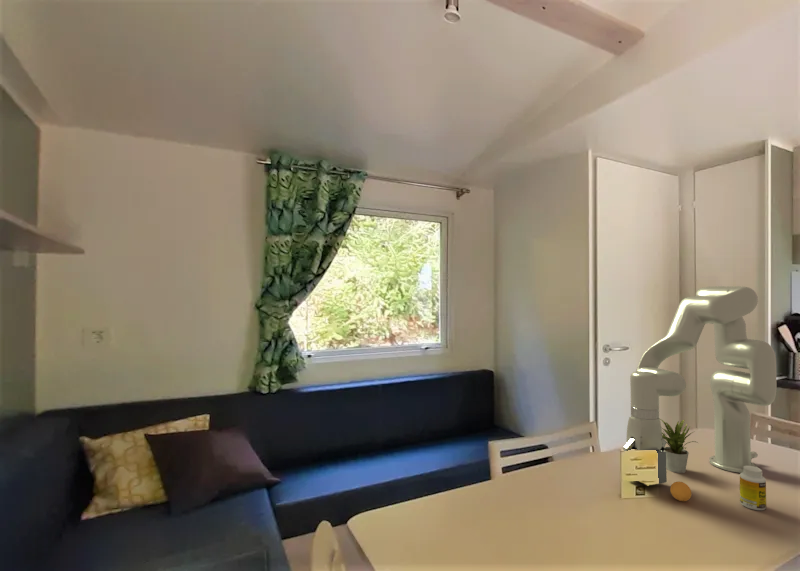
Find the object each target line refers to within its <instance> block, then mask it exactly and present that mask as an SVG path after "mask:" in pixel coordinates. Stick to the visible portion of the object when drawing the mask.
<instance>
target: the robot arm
mask: <svg viewBox="0 0 800 571" xmlns="http://www.w3.org/2000/svg"><path fill="white" fill-rule="evenodd" d="M758 302H759V299H758V294H757V293H756V291H755V290H754V289H753V288H751V287H748V286H740V285H737V286H734V285H733V286H722V285H721V286H719V285H718V286H705V287H702V288H701V287H700V288H699V289H698V290H697V291H696V292H695V296H687V297H685V298H683V299H682V300H681V301H680V302H679V304H678V306H677V309H676V311H675V314H674V315H673V318H672V320H671V323H670V325H669V327H668V330H667V332H666V334H665V336H664V337H662V338H661V339H659V340H658V341H656V342H655V343H654V344H652V345H651V346H650V347H649V348H648V349H647V350H645V351H644V353H643V354H642V355H641V358H640V360H639V362H638V365H637V367H636V370H635V371H633V372H631V373H630V382H629V383H630V416H628V421H627V427H626V439H625V440H626V443H625V445H624V446H623V448H622V449H623V451H624V452H625V451H628V450H631V449H636V448H637V450H661V451H663V452H664V447H666V446H667V441H666V440H665V439H663V438H662V435H663V434H662V433H663V429H662V428H661V427H662V425H661V423H662V421H661V420H660V419H661V418H660V397H662V396H663V397H677V396H680V395H682V394H683V393H684V391H685V390H686V388H687V382H686V379H685V378H684V376H682V375H681V373H678V372H676V371H673V370H668V369H667V370H666V369H664V368H659V366H661V364H662V363H663V362H664V361H665V360H667V359H669V358H670V357H673V356H675V355H678V354H681V353H684V352H688V351H691V350H693V349H695V348H696V346H697V345H698V342H699V339H700V337H701V334H702V332H703V329H704V328H705V325H706V324H707V325H708V324H709V325H713V332H714V356H715V359H716V361H717V362H718V363H720V364H721V365H723V366H727V367H733V368H739V369H746V370H748V371H749V372H745V371H741V370H740V371H739V370H734V369H718V370H716V371H714V372H713V373H712V374H711V375H710V379H709V386H710V390H711V394H712V400H713V412H714V413H713V414H714V416H713V422H714V423H713V424H714V455H711V456H710V457H709V463H710V464H711V465H712V466H714V467H716V468H718V469H721V470H725V471H728V472H732V473H739V474H740V473H742V472H743V467H744V466H754V467H757V468H758V466H757V464H755V463H754V462H752V459H756V458H758V456H759V455H758V453H757V451H751V450H752V449H751V447H752V446H751V414H750V411H749V408H748V406H747V405H746V404H750V405H754V406H755V405H756V406H761V407H766V406H770V405H772V404H773V403H774V401H775V400H776V397H777V386H778V385H777V358H776V352H775V351H774V348H773V346H771V344H769V343H768V342H766V341H763V340H758V339H749V338H748V336H747V326H746V321H745V319H744V317H746V316H747V315H750V314H751V313H752V312H753V311H755V309H756V307H757V306H758Z"/></svg>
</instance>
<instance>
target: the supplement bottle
mask: <svg viewBox="0 0 800 571" xmlns="http://www.w3.org/2000/svg"><path fill="white" fill-rule="evenodd" d="M739 501H740V502H739V503H740V504H741V505H742V506H743V507H745V508H747V509H750V510H754V511H764V510H766V508H767V479H766V478H765V476H763V469H761V468H759V467H758V466H757V467H754V466H744V467H743V472H742V473H739Z"/></svg>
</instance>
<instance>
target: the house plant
mask: <svg viewBox="0 0 800 571" xmlns="http://www.w3.org/2000/svg"><path fill="white" fill-rule="evenodd" d="M685 421H686V420H685V419H683V420H681V421H680V422H679V420H678V421H677V422H676V425H675V427H674V429H673V428H672V426H671V425H670V424H669V423H668V422H665V421H664V420H663V419H662V418H660V422H661V423H663V425H664V427H665V428H666V429H665V428H662V426H661V429H662V431H663V432H662V438H663V439H664V440H665V441H666V442H667V443H666V445H667V446H665V447H664V451H663V452H666V470H667V471H669V472H673V473H676V474H684V473H686V471H687V465H688V458H689V454H690V453H689V451H688V450H687V447H685V446H686V445H687V444H689V443H698V444H699V442H698V441H695V440H692V441H688V442H687V443H685V440H686V439H687V438H688V437H689V436H691V434H693V433H695V432H696V431H692V432H690V431H689V430H690V428H691V426H689V427H688V428H687V426H688V423H686V425H685V426H684V428H683V425H684V423H685ZM682 429H683V430H682ZM681 431H682V432H681ZM688 432H690V433H689V434H688ZM666 434H667V435H666Z"/></svg>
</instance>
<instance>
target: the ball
mask: <svg viewBox="0 0 800 571" xmlns="http://www.w3.org/2000/svg"><path fill="white" fill-rule="evenodd" d="M669 492H670V494H671V496H672V497H673V498H674V499H675V500H678V501H679V502H687V501H689V500H690V499H691V498H692V490H691V487H689V485H688V484H687V483H685V482H682V481H676V482H675V481H674V482H673V483H671V485H670V491H669Z"/></svg>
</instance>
